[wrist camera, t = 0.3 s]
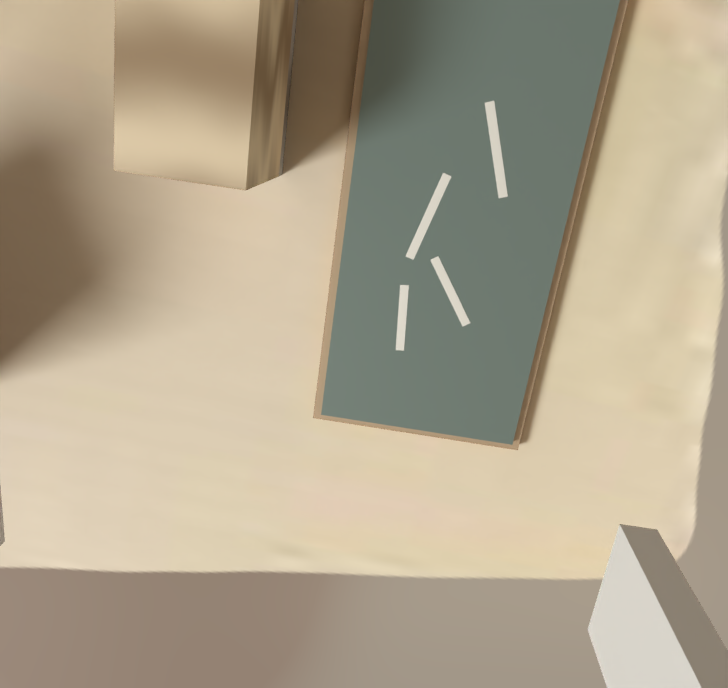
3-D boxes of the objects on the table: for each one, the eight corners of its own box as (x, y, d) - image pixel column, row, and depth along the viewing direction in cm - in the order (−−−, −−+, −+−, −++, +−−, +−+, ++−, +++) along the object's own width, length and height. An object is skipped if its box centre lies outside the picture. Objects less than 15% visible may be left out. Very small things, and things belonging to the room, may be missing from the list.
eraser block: (186, -39, 34) (115, -88, 26) (300, -23, 34) (264, -67, 26) (178, 159, 37) (113, 170, 29) (282, 174, 37) (245, 190, 29)
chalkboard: (374, -70, 33) (373, -76, 32) (633, -34, 32) (640, -38, 31) (314, 413, 42) (312, 420, 41) (516, 445, 41) (518, 453, 40)
